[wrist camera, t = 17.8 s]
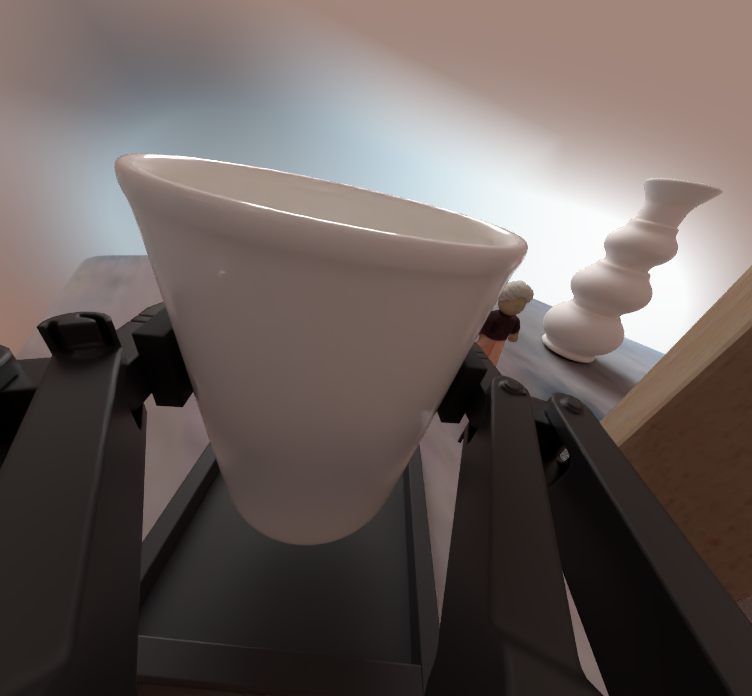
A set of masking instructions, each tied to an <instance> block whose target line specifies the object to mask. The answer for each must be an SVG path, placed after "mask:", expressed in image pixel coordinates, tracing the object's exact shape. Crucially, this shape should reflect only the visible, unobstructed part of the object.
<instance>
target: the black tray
mask: <svg viewBox="0 0 752 696" xmlns="http://www.w3.org/2000/svg"><path fill="white" fill-rule="evenodd" d="M439 632H440V628H439V619H438V610H437V601H436V592H435V583H434V573H433V564H432V555H431V546H430V537H429V528H428V519H427V510H426V501H425V491H424V482H423V473H422V464H421V455H420V446H419V445H418V447H417V448H416V450H415V452H414V454H413V456H412V458H411V459H410V461H409V463H408V465H407V467H406V468H405V470H404V472H403V474H402V476H401V478H400V479H399V481H398V483H397V485H396V486H395V488H394V490H393V492H392V493H391V495H390V497H389V498H388V500H387V501H386V503H385V504H384V506H383V507H382V508H381V510H380V511H379V512H378V513H377V514H376V515H375V516H374V517H373V518H372V519H371V520H370V521H369V522H368V523H367V524H366V525H364V526H363V527H362V528H360V529H359V530H357V531H356V532H354V533H352V534H350V535H348V536H346V537H344V538H341V539H339V540H336V541H333V542H329V543H325V544H318V545H294V544H288V543H284V542H280V541H277V540H274V539H272V538H269V537H267V536H265V535H263V534H262V533H260V532H258V531H257V530H256V529H254V528H253V527H252V526H250V525H249V524H248V523H247V522H246V521H245V520H244V519H243V517H242V516H241V515H240V514H239V512H238V511H237V509H236V508H235V506H234V504H233V503H232V501H231V499H230V496H229V494H228V492H227V489H226V486H225V484H224V481H223V478H222V475H221V473H220V470H219V467H218V464H217V461H216V458H215V455H214V452H213V449H212V446H211V443H209V444H208V446H207V447H206V449H205V450H204V452H203V453H202V455H201V456H200V458H199V459H198V461H197V462H196V464H195V465H194V467H193V468H192V470H191V471H190V473H189V474H188V475H187V477H186V478H185V480H184V481H183V483H182V484H181V486H180V487H179V489H178V490H177V492H176V493H175V495H174V496H173V498H172V499H171V501H170V502H169V504H168V505H167V507H166V508H165V510H164V511H163V513H162V514H161V516H160V517H159V519H158V520H157V522H156V523H155V525H154V526H153V528H152V529H151V531H150V532H149V534H148V535H147V537H146V538H145V540H144V541H143V542H142V550H141V575H140V601H139V626H138V652H137V683H143V684H154V685H164V686H175V687H185V688H196V689H207V690H217V691H228V692H238V693H249V694H259V695H270V696H424V694H425V689H426V685H427V681H428V678H429V675H430V672H431V670H432V667H433V664H434V661H435V657H436V653H437V647H438V640H439Z"/></svg>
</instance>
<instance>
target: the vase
mask: <svg viewBox="0 0 752 696" xmlns="http://www.w3.org/2000/svg"><path fill="white" fill-rule="evenodd" d="M644 189H645V203H644V205H643V207H642V209H641V210H640V211H639V213H638V215H637V216H636V217H635V218H634V219H632V220H630V221H629V222H628V223H627V224H626V225H625V226H624V227H621V228H619V229H617V230H615V231H613V232H612V233H610V234H609V235H608V236H607V238H606V240H605V242H604V247H605V251H606V257H605V259H604V260H599V261H598V262H596V263H595V264H593V265H591V266H588V267H585V268H583V269H581V270H579V271H578V272H577V273H576V274H575V275H574V276H573V278H572V280H571V290H572V292H573V295H574V298H573V299H572V300H569V301H567V302H563V303H560V304H557V305H555V306H553V307H552V308H551V309H549V310H548V312H547V313H546V314H545V317H544V320H543V326H544V330H545V332H546V334H544V335H543V336H542V341H543V342H544V344H545V345H546V346H547V347H548V348H550V349H551V350H552V351H554V352H555V353H557V354H559V355H561V356H563V357H565V358H568V359H570V360H574V361H578V362H583V363H590V362H592V361H594V359H595V356H599V355H604V354H608V353H610V352H612V351H614V350H615V349H617V348H618V347H619V346H620V345H621V343H622V341H623V339H624V329H623V326H622V324H621V320H620V316H621V315H623V314H626V313H630V312H634V311H637V310H640V309H641V308H643V307H644V306H646V305H647V304H648V303H649V302H650V300H651V298H652V288H651V285H650V283H649V279H650V274H648V271H649V270H650V269H651V268H652V267H654V266H657V265H661V264H663V263H666V262H667V261H669V260H671V259H672V258H673V257H674V256H675V255H676V253H677V250H678V244H677V241H676V235H677V233H678V229H677V227H678V226H679V224H680V223H681V222H682V220H683V219H684V218H685V217H686V215H687V214H688V213H689V212H690V211H691V210H692V209H694V208H695V207H697V206H699V205H701V204H703V203H705V202H707V201H709V200H710V199H712V198H714V197H716V196H718V195H720V194H721V193H722V192H723V191H722V190H721V189H720V188H717V187H715V186H711V185H707V184H704V183H698V182H693V181H687V180H680V179H670V178H649V179H646V180H645V181H644Z"/></svg>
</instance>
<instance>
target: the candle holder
mask: <svg viewBox="0 0 752 696" xmlns="http://www.w3.org/2000/svg"><path fill="white" fill-rule="evenodd" d="M115 173H116V177H117V180H118V183H119V185H120V187H121V189H122V191H123V192H124V194H125V196H126V197H127V200H128V202H129V204H130V206H131V208H132V211H133V214H134V216H135V219H136V222H137V224H138V227H139V230H140V233H141V236H142V239H143V242H144V245H145V248H146V251H147V254H148V257H149V260H150V263H151V266H152V269H153V272H154V275H155V278H156V281H157V284H158V287H159V290H160V293H161V296H162V299H163V302H164V305H165V308H166V311H167V314H168V317H169V320H170V323H171V326H172V329H173V332H174V335H175V338H176V341H177V344H178V347H179V350H180V353H181V356H182V359H183V362H184V365H185V368H186V371H187V374H188V377H189V380H190V383H191V386H192V389H193V392H194V395H195V398H196V401H197V404H198V407H199V410H200V413H201V416H202V419H203V422H204V425H205V428H206V431H207V434H208V437H209V440H210V443H211V446H212V449H213V452H214V455H215V458H216V461H217V464H218V467H219V470H220V473H221V475H222V478H223V481H224V484H225V486H226V489H227V492H228V494H229V496H230V499H231V501H232V503H233V504H234V506H235V508H236V509H237V511H238V512H239V514H240V515H241V516H242V517H243V519H244V520H245V521H246V522H247V523H248V524H249V525H250V526H252V527H253V528H254V529H256V530H257V531H258V532H260V533H262V534H263V535H265V536H267V537H269V538H272V539H274V540H277V541H280V542H284V543H288V544H294V545H318V544H325V543H329V542H333V541H336V540H339V539H341V538H344V537H346V536H348V535H350V534H352V533H354V532H356V531H357V530H359V529H360V528H362V527H363V526H364V525H366V524H367V523H368V522H369V521H370V520H371V519H372V518H373V517H374V516H375V515H376V514H377V513H378V512H379V511H380V510H381V508H382V507H383V506H384V504H385V503H386V501H387V500H388V498H389V497H390V495H391V493H392V492H393V490H394V488H395V486H396V485H397V483H398V481H399V479H400V478H401V476H402V474H403V472H404V470H405V468H406V467H407V465H408V463H409V461H410V459H411V458H412V456H413V454H414V452H415V450H416V448H417V447H418V445H419V443H420V441H421V439H422V437H423V436H424V434H425V432H426V430H427V428H428V426H429V425H430V423H431V421H432V419H433V417H434V415H435V414H436V412H437V410H438V408H439V406H440V404H441V403H442V401H443V399H444V397H445V395H446V393H447V392H448V390H449V388H450V386H451V384H452V382H453V381H454V379H455V377H456V375H457V373H458V371H459V370H460V368H461V366H462V364H463V362H464V360H465V359H466V357H467V355H468V353H469V351H470V349H471V347H472V346H473V344H474V342H475V340H476V338H477V336H478V335H479V333H480V331H481V329H482V327H483V325H484V324H485V322H486V320H487V318H488V316H489V314H490V313H491V311H492V309H493V307H494V305H495V304H496V302H497V300H498V298H499V296H500V295H501V293H502V291H503V289H504V288H505V286H506V284H507V282H508V281H509V279H510V278H511V276H512V274H513V273H514V271H515V270H516V269H517V268H518V267H519V265H520V264H521V263H522V261H523V259H524V257H525V256H526V253H527V249H528V246H527V243H526V241H525V240H524V239H523V238H521V237H520V236H518V235H516V234H514V233H512V232H510V231H508V230H506V229H503V228H501V227H498V226H496V225H493V224H490V223H487V222H485V221H482V220H479V219H475V218H473V217H469V216H466V215H463V214H460V213H456V212H453V211H450V210H446V209H443V208H439V207H435V206H431V205H428V204H424V203H420V202H416V201H413V200H408V199H405V198H401V197H397V196H393V195H388V194H385V193H381V192H376V191H372V190H367V189H363V188H359V187H355V186H350V185H345V184H341V183H336V182H332V181H327V180H322V179H317V178H312V177H307V176H302V175H297V174H291V173H286V172H281V171H275V170H270V169H265V168H259V167H253V166H247V165H241V164H235V163H229V162H221V161H215V160H208V159H201V158H193V157H183V156H175V155H163V154H127V155H123V156H120V157H119V158H117V160H116V161H115Z"/></svg>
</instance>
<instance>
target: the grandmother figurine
mask: <svg viewBox="0 0 752 696" xmlns="http://www.w3.org/2000/svg"><path fill="white" fill-rule="evenodd" d="M532 299H533V290H532V289H531V288H530V287H529V286H528V285H526V284H525V283H524V282H523V281H515V282H509V283H507V284H506V286H505V288H504V289H503V291H502V293H501V295H500V296H499V298H498V300H499V301H498V307H499V309H500V310H495V311H491V313H490V314H489V316H488V318H487V320H486V322H485V324H484V325H483V327H482V329H481V331H480V333H479V335H480V337H479V339H478V341H477V342H476V343H477V344H478V345H479V346H480V347H481V348H482V350H483V351H484V352H485V354H486V355H487V356H488V358H489V360H491V362H492V363H493V364H494V366H495V367H496V365H497V362H498V359H499V356H500V354H501V351H502V348H503V346H504V342H505V340H506V339H507V337H508V340H509V341H511V342H515V341H516V340H517V339H518V336H517V335H518V332H519V330H520V320H519V318H518V317H517V316H516V314H519V313H520V312H521V311H522V310H523V309H524V307H525V305H526V304H527V303H529V302H530V300H532ZM508 335H509V336H508Z"/></svg>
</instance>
